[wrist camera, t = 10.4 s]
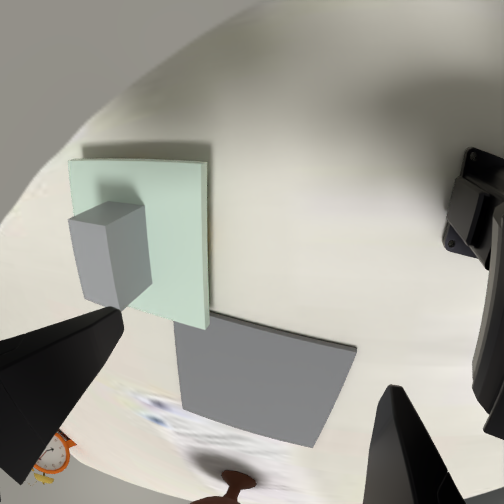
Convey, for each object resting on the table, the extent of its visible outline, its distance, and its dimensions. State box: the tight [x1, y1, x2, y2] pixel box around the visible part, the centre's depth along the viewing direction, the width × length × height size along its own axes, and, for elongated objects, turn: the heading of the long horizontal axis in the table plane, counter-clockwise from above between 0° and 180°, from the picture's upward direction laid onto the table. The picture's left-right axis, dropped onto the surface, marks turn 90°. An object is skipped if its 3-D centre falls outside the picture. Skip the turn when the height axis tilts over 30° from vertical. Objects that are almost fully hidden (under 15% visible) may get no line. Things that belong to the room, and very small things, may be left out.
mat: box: [174, 312, 357, 448], centre depth 27 cm, size 15×15×1 cm
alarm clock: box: [32, 433, 77, 484], centre depth 54 cm, size 13×6×20 cm, turn 47°
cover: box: [68, 158, 210, 330], centre depth 20 cm, size 12×12×5 cm
